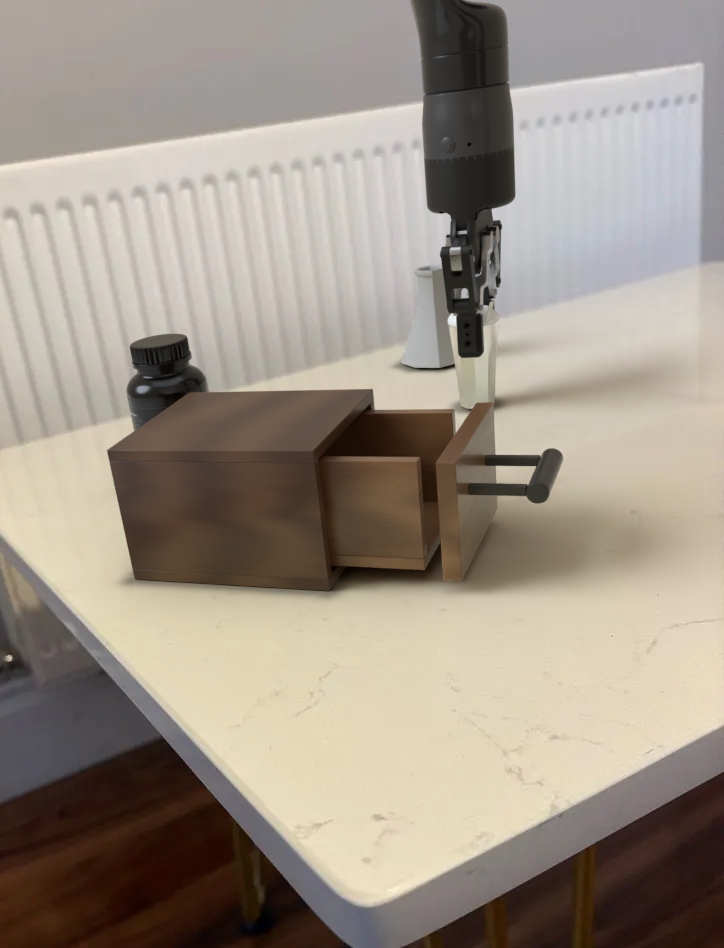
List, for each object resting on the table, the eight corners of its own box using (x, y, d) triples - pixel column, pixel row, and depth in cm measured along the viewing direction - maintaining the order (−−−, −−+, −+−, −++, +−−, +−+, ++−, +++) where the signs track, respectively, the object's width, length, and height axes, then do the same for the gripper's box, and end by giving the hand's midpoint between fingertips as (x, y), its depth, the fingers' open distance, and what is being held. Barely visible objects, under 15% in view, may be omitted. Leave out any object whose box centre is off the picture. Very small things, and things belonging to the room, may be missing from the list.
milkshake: (476, 417, 94) (469, 307, 89) (444, 404, 98) (436, 299, 93) (517, 404, 95) (513, 295, 90) (484, 392, 99) (478, 287, 95)
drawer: (569, 510, 71) (568, 401, 67) (543, 586, 61) (541, 463, 58) (318, 504, 78) (306, 404, 74) (261, 571, 69) (244, 460, 65)
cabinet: (384, 514, 77) (373, 388, 72) (329, 591, 67) (312, 451, 62) (209, 508, 82) (189, 392, 78) (134, 579, 72) (106, 450, 68)
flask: (389, 366, 113) (381, 273, 109) (431, 349, 117) (426, 259, 113) (441, 373, 108) (435, 276, 104) (483, 355, 112) (479, 261, 108)
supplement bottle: (139, 473, 92) (112, 340, 87) (213, 457, 93) (191, 325, 88) (150, 497, 86) (122, 356, 81) (229, 480, 87) (206, 340, 82)
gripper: (496, 152, 79) (503, 370, 87) (528, 134, 91) (532, 327, 99) (402, 163, 82) (417, 372, 90) (444, 144, 94) (454, 331, 101)
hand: (477, 347), depth 94 cm, fingers closed on milkshake, 4 cm apart
